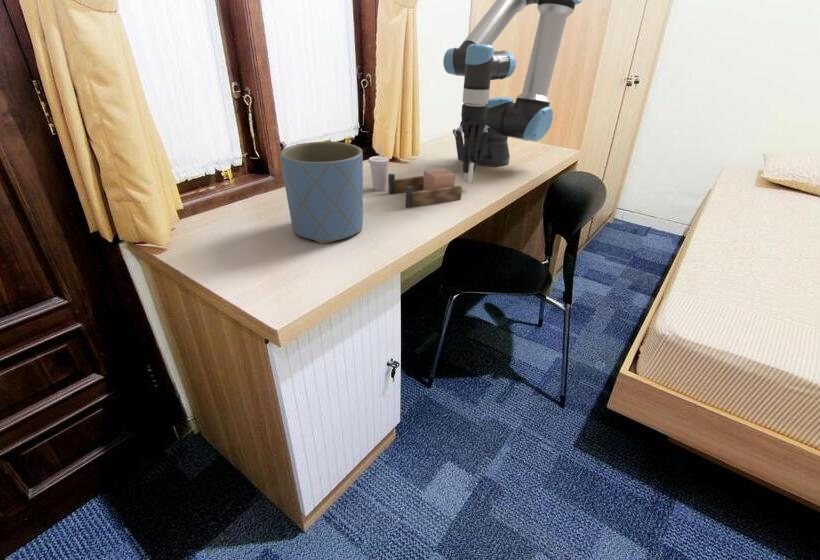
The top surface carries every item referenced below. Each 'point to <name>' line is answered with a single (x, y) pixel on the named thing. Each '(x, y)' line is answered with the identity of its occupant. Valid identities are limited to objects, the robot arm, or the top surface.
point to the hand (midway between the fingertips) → (467, 182)
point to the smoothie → (379, 171)
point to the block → (438, 179)
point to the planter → (324, 189)
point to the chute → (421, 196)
